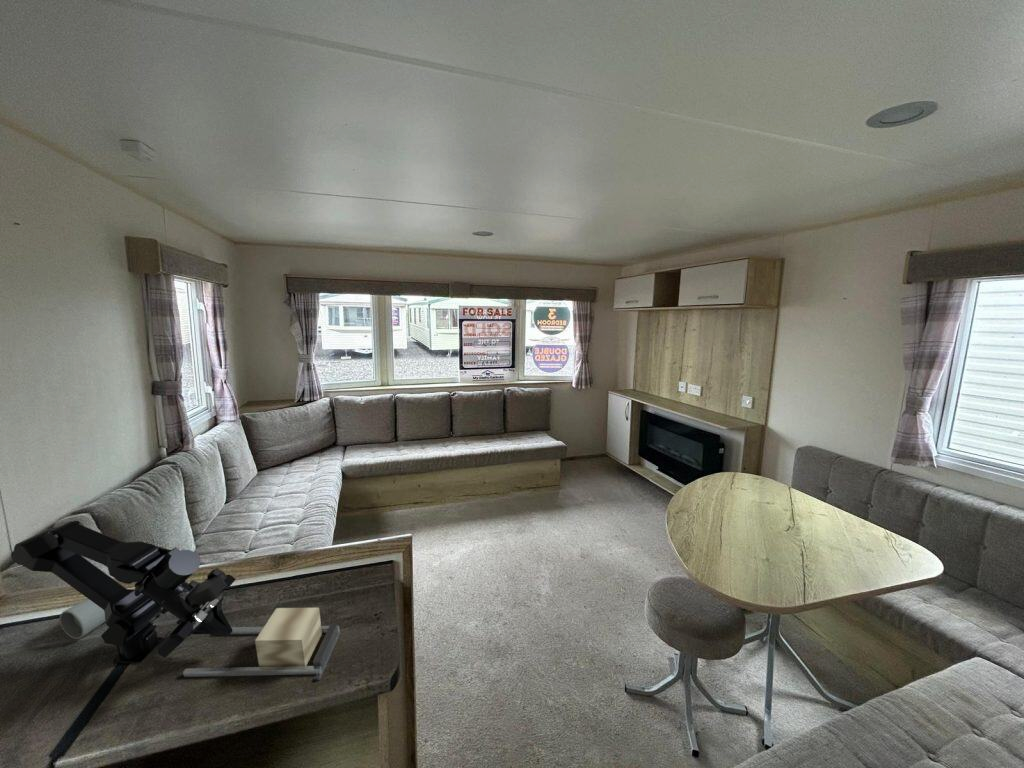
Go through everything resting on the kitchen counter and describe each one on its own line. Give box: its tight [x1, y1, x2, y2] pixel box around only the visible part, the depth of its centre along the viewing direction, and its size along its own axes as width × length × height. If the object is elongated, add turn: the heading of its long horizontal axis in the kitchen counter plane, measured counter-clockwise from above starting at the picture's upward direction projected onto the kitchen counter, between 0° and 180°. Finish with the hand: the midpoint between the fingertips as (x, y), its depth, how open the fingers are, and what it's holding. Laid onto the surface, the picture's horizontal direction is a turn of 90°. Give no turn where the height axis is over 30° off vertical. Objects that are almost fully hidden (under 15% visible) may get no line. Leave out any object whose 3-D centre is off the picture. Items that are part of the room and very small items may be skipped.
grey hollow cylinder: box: [59, 598, 106, 640], centre depth 100 cm, size 11×8×8 cm
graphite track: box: [182, 623, 341, 681], centre depth 93 cm, size 29×12×4 cm, turn 93°
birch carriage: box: [254, 607, 323, 667], centre depth 93 cm, size 10×9×8 cm
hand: (230, 633), depth 92 cm, fingers closed
